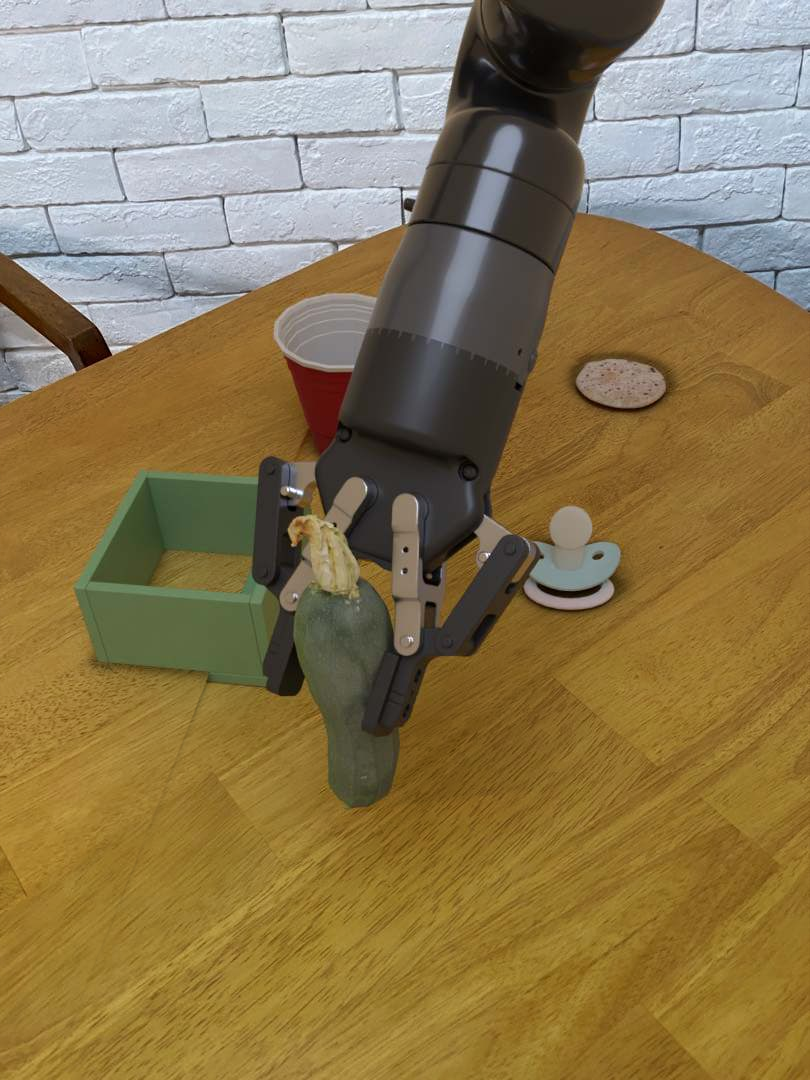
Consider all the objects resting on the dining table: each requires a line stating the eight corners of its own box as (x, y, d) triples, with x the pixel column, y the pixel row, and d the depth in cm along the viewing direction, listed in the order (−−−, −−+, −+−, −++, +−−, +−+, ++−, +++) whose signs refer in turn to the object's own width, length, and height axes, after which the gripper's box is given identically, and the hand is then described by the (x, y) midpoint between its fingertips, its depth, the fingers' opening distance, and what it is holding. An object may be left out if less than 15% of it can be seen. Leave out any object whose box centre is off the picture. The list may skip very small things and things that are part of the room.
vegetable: (420, 794, 59) (403, 500, 46) (385, 860, 56) (355, 566, 43) (345, 767, 61) (307, 475, 48) (307, 830, 58) (255, 538, 45)
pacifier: (621, 616, 80) (616, 557, 84) (628, 552, 75) (623, 494, 80) (516, 614, 80) (517, 555, 85) (517, 550, 76) (518, 492, 80)
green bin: (101, 671, 78) (72, 588, 73) (160, 551, 87) (139, 469, 82) (277, 688, 76) (261, 603, 71) (319, 563, 85) (307, 480, 80)
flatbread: (682, 385, 101) (683, 375, 100) (632, 423, 97) (633, 413, 96) (607, 354, 105) (607, 345, 104) (556, 390, 101) (557, 380, 100)
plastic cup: (372, 502, 91) (361, 375, 83) (265, 464, 95) (244, 340, 87) (440, 432, 97) (436, 308, 89) (337, 399, 102) (324, 279, 94)
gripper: (275, 291, 50) (154, 658, 50) (576, 367, 44) (438, 781, 44) (348, 338, 57) (241, 661, 57) (616, 409, 51) (497, 767, 51)
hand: (328, 711), depth 51 cm, fingers closed on vegetable, 4 cm apart
